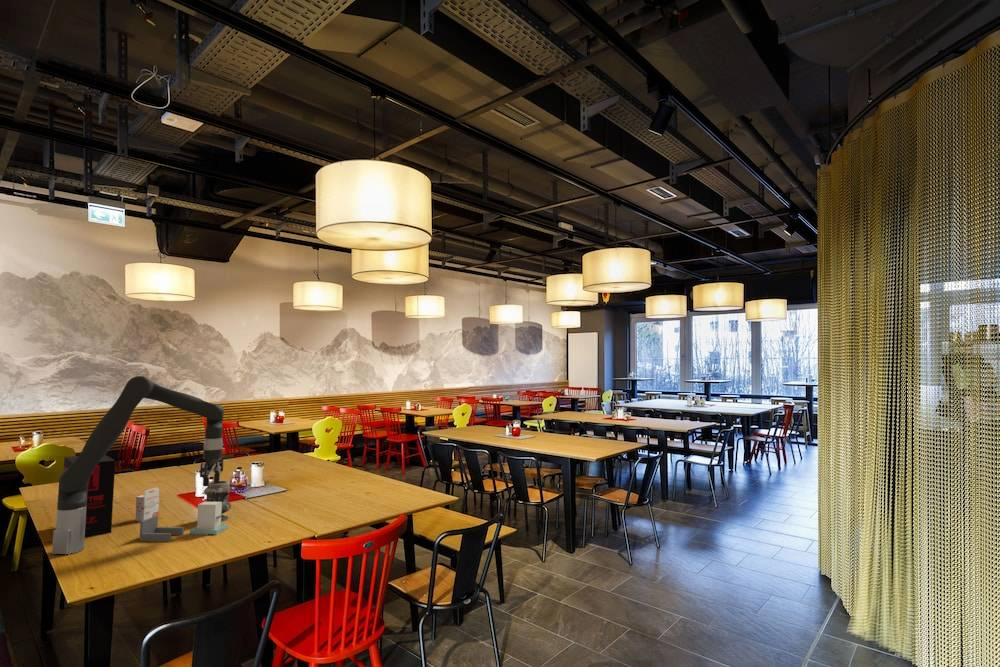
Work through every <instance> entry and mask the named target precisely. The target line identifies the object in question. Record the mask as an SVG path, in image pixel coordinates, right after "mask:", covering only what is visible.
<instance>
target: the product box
mask: <svg viewBox="0 0 1000 667" xmlns="http://www.w3.org/2000/svg"><path fill="white" fill-rule="evenodd" d="M78 456H79V455H72V456H71V455H70V456H64V457H63V458H64V459H63V460H64V461H63V471H64V470H66V469H67V468H69V467H70V466H71V465H72V464H73V463H74V461H75V460H76V459H77V458H78ZM115 470H116V460H115V459H113V458H111V457H110V456H108V455H106V454H105V455H104V456H103V458H102V459H101V460H100V461H99V463H98V464H97V466H96V467H95V469H94V471H93V473H92V474H91V476H90V478H89V480H88V490H87V507H86V523H85V537H86V538H90V537H95V536H96V537H97V536H102V535H106V534H111V533H112V526H113V507H114V492H115V491H114V489H115V473H116V471H115Z"/></svg>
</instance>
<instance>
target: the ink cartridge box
mask: <svg viewBox="0 0 1000 667" xmlns="http://www.w3.org/2000/svg"><path fill="white" fill-rule="evenodd" d="M159 490H160V488H159V486H158V487H153V488H149V489H146V490H144V491H143V492H144V494H141V495H138V496H136V497H135V498H136V500H135V501H136V503H135V522H141V521H144V520H146V519H148V518H151V517H153V516H156V515H158V516H159V506H160V504H159V502H160V500H159V499H160V491H159ZM151 491H152V492H151Z"/></svg>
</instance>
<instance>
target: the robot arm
mask: <svg viewBox="0 0 1000 667" xmlns="http://www.w3.org/2000/svg"><path fill="white" fill-rule="evenodd" d="M143 399H147V400H153V401H157V402H161V403H163V404H166V405H168V406H172V407H173V408H176V409H179V410H182V411H184V412H188V413H191V414H195V415H198V416H200V417H202V418H205V419H206V427H205V432H204V442H203V457H202V458H203V460H205V462H204V463H201V464H200V471H199V477H200V478H202V486H203V487H208V485H209V482H210V476H211V474H213V473H214V474H213V482H219V481H221V480H220V479H221V478H220V477H221V473H222V472H223V471H224V458H223V445H224V444H223V441H224V440H223V430H224V429H223V422H224V407H223V406H222V405H221V404H219V403H212V402H209V401H205V400H203V399H201V398H199V397H197V396H194V395H190V394H187V393H184V392H181V391H177V390H172V389H170V388H167V387H164V386H161V385H159V384H158V383H156V382H153V381H151V380H150V379H149V378H148V377H146V376H143V375H137V376H133V377H131V378H130V379H129V380H128V381H127V382H126V384H125V386H124V388H123V390H122V392H121V393H120V394H119V396H118V398H117V400H116V401H115V403H113V405H112V406H111V407H110V408H109V409H108V410H107V412H106V413H105V414H104V416H103V417H102V418H101V419H100V420H99V422H98V424H96V426H95V427H94V429H93V430H92V432H91V433H90V435H89V437H88V438H87V440H86V442H85V444H84V445H83V448H82V449H81V452H80V454H79V455H77V456H78V458H77V459H76V460H75V461H74V463H73V464H72V465H71V466H70V467H69V468H67V469H66V470H64V469H63V471H62V472H61V473H60V475H59V478H58V491H57V492H58V494H57V504H56V505H57V506H56V521H55V522H56V523H55V529H54V530H53V533H52V534H53V535H52V547H51V548H52V549H51V550H52V552H51V554H52V553H53V554H65V555H64V556H67V555H66V554H68V555H71V553H72V554H75V553H79V552H81V551H83V550H84V549H85V539H86V538H85V523H86V507H87V490H88V480H89V478H90V476H91V474H92V473H93V471H94V469H95V467H96V466H97V464H98V463H99V461H100V460H101V459H102V458H103V456H104V455H106V454H107V453H108V452H109V451H110V449H111V448H112V447H113V445H114V444H115V443H116V442H117V440H118V439H119V437H120V436H121V435H122V433H123V432H124V430H125V428H126V427H127V424H128V423H129V421H130V419H131V416H132V414H133V412H134V410H135V409H136V408H137V407H138V405H139V404H140V403H141V402H142V401H143Z"/></svg>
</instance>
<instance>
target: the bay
mask: <svg viewBox="0 0 1000 667" xmlns="http://www.w3.org/2000/svg"><path fill="white" fill-rule="evenodd" d="M158 520H159V514H158V515H156V516H153V517H151V518H148V519H146V520H144V521H141V522H140V521H139V522H140V527H139V542H171V541H172V536H174V535H175V536H183V535H184V531H185V527H183V526H182V527H181V526H158V523H159V522H158Z"/></svg>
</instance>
